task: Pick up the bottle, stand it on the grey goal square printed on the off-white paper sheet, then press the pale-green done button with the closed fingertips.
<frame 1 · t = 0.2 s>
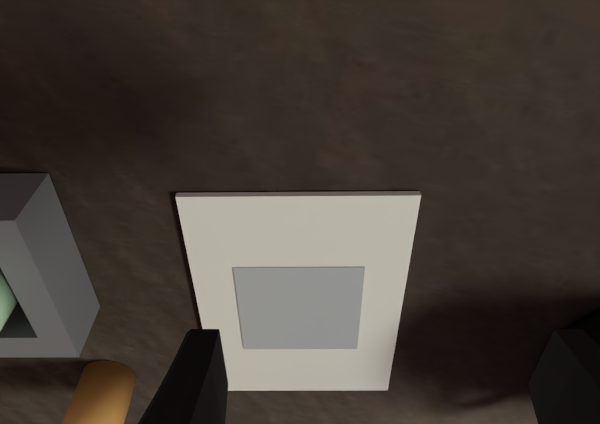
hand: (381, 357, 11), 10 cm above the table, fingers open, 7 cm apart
bottle: (109, 375, 29), on the table
paper: (299, 305, 25), on the table
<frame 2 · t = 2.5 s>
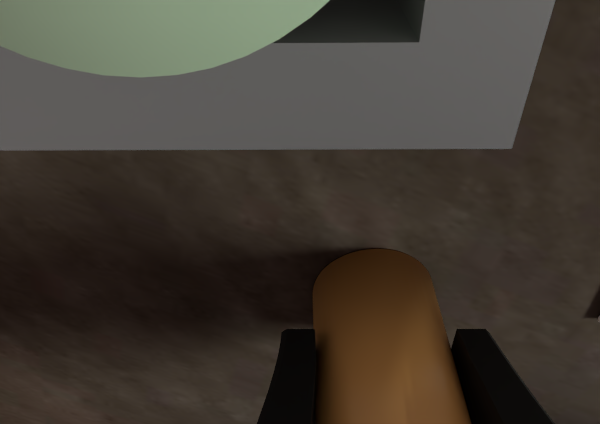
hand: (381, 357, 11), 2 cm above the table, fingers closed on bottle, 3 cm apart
bottle: (372, 292, 13), on the table, touching gripper
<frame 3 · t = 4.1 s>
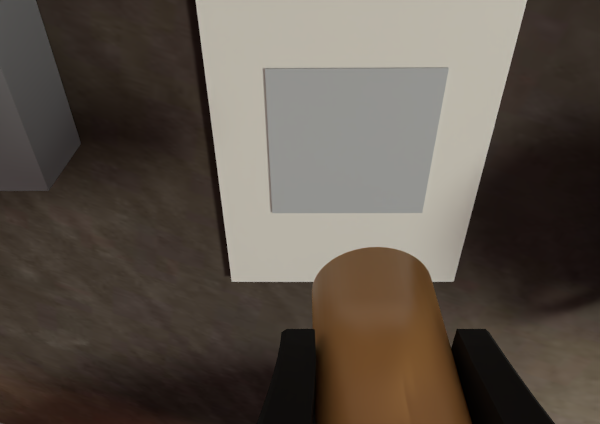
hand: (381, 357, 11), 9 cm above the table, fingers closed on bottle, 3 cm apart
bottle: (371, 291, 13), point 7 cm above the table, touching gripper
paper: (350, 142, 18), on the table
when the fingers open (3 cm above the table, at t = 5.6 s): bottle stays where it is, resting on paper.
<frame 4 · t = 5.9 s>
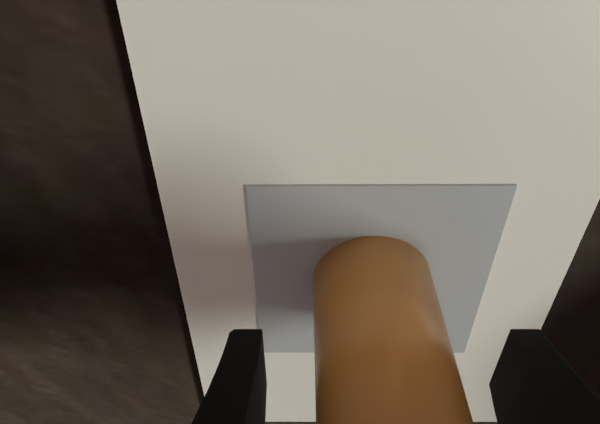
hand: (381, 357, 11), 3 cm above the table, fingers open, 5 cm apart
bottle: (370, 279, 13), resting on paper
paper: (369, 270, 13), on the table
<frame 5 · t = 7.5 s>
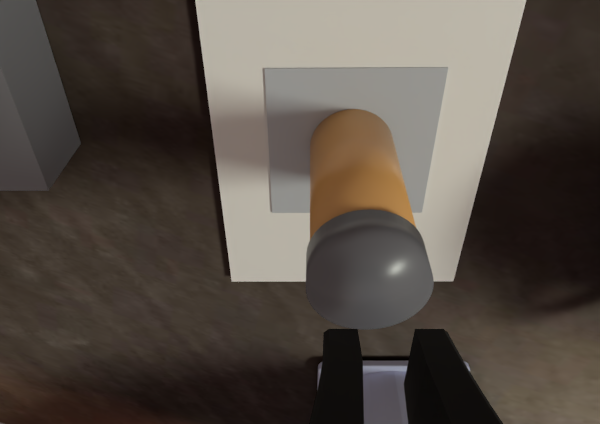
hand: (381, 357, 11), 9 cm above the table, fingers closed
bottle: (351, 146, 18), resting on paper
paper: (350, 142, 18), on the table
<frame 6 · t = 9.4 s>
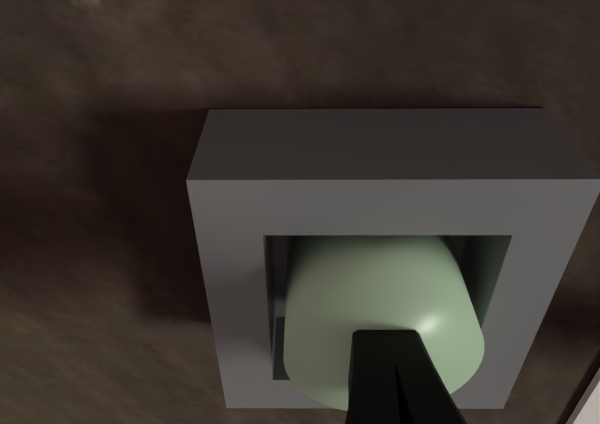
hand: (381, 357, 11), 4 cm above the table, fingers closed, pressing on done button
done button: (375, 307, 12), point 3 cm above the table, slide at 0.7 cm, touching gripper
button housing: (364, 235, 14), on the table
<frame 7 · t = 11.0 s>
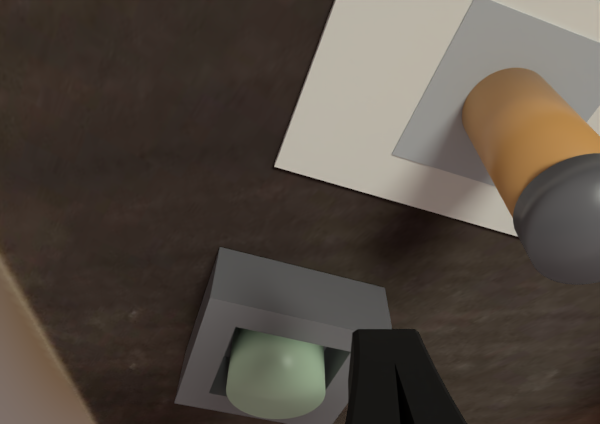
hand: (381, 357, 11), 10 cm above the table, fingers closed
bottle: (505, 109, 18), resting on paper
done button: (277, 363, 23), point 2 cm above the table, slide at 0.9 cm
paper: (502, 104, 18), on the table
button housing: (279, 321, 25), on the table
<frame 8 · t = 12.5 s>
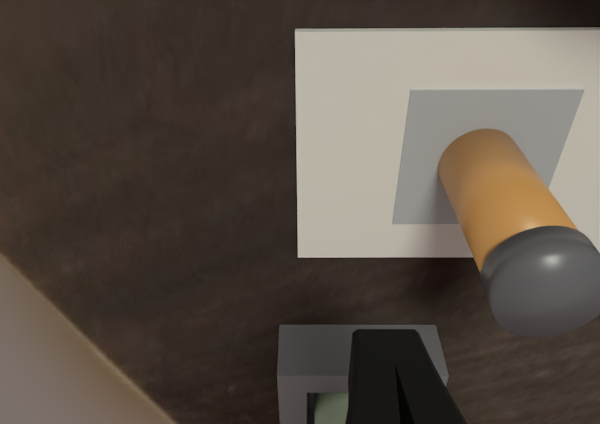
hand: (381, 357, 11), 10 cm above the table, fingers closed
bottle: (478, 163, 19), resting on paper
done button: (356, 411, 26), point 2 cm above the table, slide at 0.9 cm
paper: (476, 158, 19), on the table
button housing: (352, 370, 28), on the table
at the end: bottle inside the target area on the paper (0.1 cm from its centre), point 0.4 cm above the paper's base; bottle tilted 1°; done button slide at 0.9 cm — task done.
